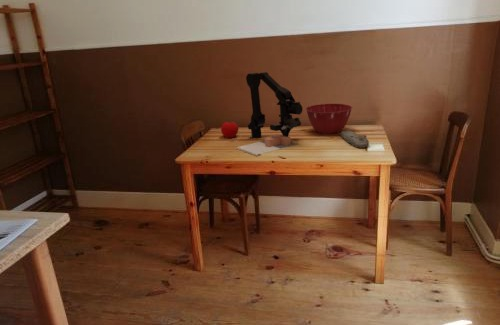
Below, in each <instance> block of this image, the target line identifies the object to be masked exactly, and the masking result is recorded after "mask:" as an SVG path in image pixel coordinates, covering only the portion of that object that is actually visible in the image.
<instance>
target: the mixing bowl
mask: <svg viewBox="0 0 500 325" xmlns="http://www.w3.org/2000/svg"><path fill="white" fill-rule="evenodd" d="M352 109H353V106H352V105H349V104H345V103H321V104H313V105H310V106H309V105H308V106H307V107H306V108H305V111H306V114H307V117H308V120H309V122H310V124H311V127H312V128H313V129H314V130H315V131H316V132H317V133H319V134H323V135H333V134H337V133H340V132H341V131H342V130H343V129H344V128H345V127H346V125H347V123H348V120H349V118H350V116H351V111H352Z"/></svg>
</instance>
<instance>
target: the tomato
mask: <svg viewBox="0 0 500 325" xmlns="http://www.w3.org/2000/svg"><path fill="white" fill-rule="evenodd" d="M220 132H221V134H222V136H224V137H225V138H226V139H227V138H228V139H230V138H234V137H236V136H237V135H238V132H239V126H238V124H237V123H236V122H235V121H232V120H231V121H226V122H223V124H222V125H221V126H220Z"/></svg>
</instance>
